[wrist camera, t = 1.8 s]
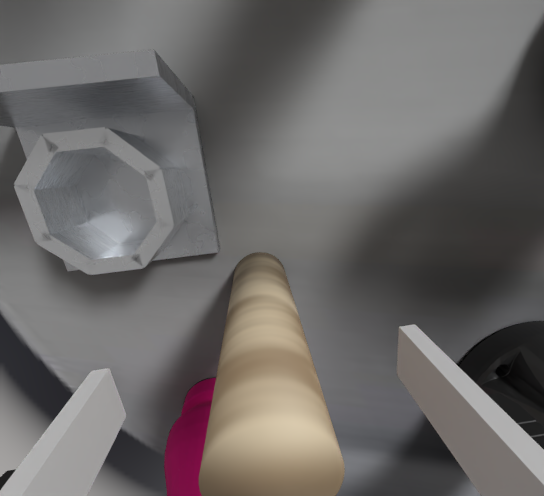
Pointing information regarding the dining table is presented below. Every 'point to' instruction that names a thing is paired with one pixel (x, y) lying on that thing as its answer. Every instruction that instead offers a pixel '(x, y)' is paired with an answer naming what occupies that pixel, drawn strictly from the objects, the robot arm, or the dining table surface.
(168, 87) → the cup bracket
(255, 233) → the dining table surface
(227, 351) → the wooden spindle
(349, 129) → the dining table surface
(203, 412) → the pepper mill
